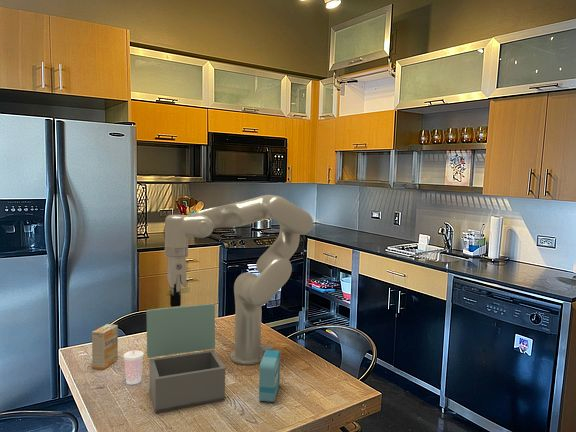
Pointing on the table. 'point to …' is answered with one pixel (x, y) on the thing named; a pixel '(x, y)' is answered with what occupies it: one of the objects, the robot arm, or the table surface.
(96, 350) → the supplement box
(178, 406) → the storage box
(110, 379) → the table surface
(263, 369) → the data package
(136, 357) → the beverage cup
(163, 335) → the lid
